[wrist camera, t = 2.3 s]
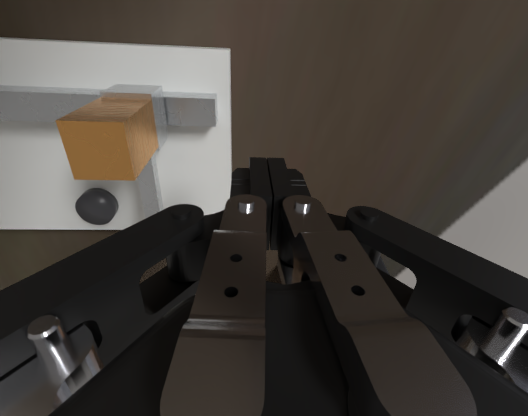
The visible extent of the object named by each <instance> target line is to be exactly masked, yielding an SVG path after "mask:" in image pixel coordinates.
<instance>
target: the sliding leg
mask: <svg viewBox="0 0 528 416" xmlns="http://www.w3.org/2000/svg"><path fill="white" fill-rule="evenodd" d="M99 93H100V98H98V99H96V100H94V101H92V102H90V103H88V104H87V105H85V106H83V107H81V108H79V109H77V110H75V111H73V112H71V113H69V114H67V115H65V116H63V117H61V118H59V119H57V120H55V121H56V124H57V127H58V130H59V133H60V136H61V140H62V143H63V146H64V149H65V152H66V155H67V158H68V161H69V164H70V168H71V171H72V174H73V177H74V180H126V181H135V180H136V178H137V177H138V182H139V188H140V193H141V198H142V203H143V208H144V213H145V218H148V217H150V216H152V215H154V214H156V213H158V212H160V211H162V210H164V209H163V202H162V196H161V189H160V183H159V176H158V170H157V164H156V157H155V151H160V149H161V148H162V146H163V145H164V143H165V142H166V140H167V139H168V129H167V121H166V113H165V105H164V97H163V89H162V86H157V85H131V84H115V85H113V86H111V87H109V88H107V89H105V90H103V91H100V92H99Z"/></svg>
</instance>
